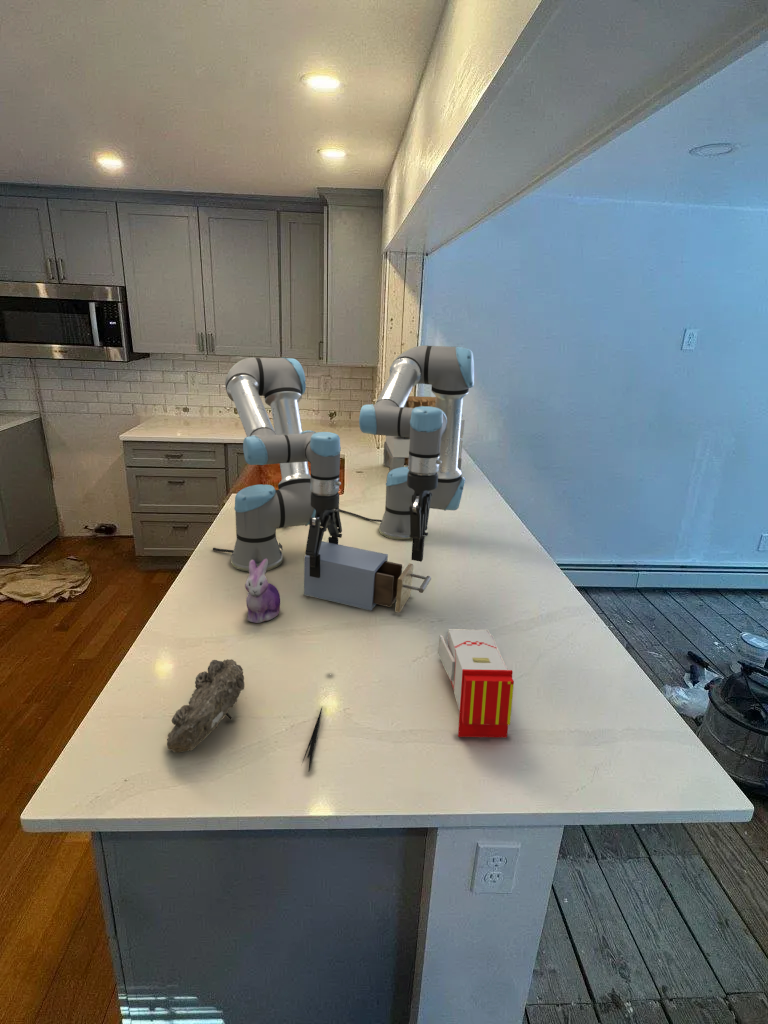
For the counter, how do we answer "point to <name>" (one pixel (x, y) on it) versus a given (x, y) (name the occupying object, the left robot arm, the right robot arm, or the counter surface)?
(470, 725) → the toy
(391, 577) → the drawer
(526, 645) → the counter surface
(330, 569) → the cabinet
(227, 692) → the fossil
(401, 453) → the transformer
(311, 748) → the feather
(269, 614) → the figurine
